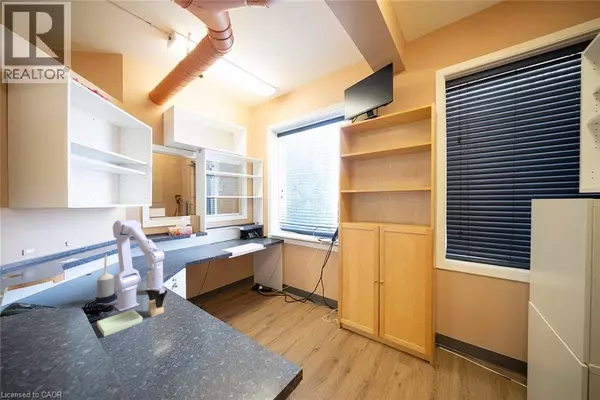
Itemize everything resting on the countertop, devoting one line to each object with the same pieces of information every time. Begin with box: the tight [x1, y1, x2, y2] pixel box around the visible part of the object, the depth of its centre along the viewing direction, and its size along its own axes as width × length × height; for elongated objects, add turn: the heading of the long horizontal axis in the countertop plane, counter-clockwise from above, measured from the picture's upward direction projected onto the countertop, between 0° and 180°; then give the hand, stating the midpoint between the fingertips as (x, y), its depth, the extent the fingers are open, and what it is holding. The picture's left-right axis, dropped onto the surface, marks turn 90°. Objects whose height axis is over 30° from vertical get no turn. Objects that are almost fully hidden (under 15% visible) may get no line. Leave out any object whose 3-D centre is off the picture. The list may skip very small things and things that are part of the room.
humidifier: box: [94, 254, 117, 304], centre depth 116 cm, size 8×8×25 cm
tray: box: [96, 309, 144, 338], centre depth 93 cm, size 13×13×2 cm
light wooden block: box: [145, 271, 149, 295], centre depth 127 cm, size 6×4×12 cm
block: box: [147, 300, 165, 318], centre depth 102 cm, size 4×5×6 cm
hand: (156, 305), depth 102 cm, fingers open, 7 cm apart
